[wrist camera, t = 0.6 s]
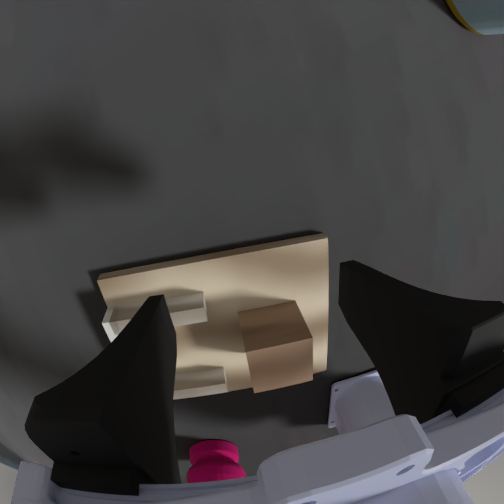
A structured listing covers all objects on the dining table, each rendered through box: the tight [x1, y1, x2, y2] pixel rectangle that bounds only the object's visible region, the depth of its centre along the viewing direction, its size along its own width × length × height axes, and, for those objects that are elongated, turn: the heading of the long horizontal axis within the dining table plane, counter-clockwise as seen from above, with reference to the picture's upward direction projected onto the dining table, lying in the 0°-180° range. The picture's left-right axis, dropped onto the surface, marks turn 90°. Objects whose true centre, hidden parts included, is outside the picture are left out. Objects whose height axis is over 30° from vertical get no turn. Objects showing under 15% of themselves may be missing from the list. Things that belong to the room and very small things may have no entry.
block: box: [238, 301, 313, 393], centre depth 23 cm, size 4×4×4 cm
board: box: [97, 233, 328, 400], centre depth 24 cm, size 14×17×3 cm
